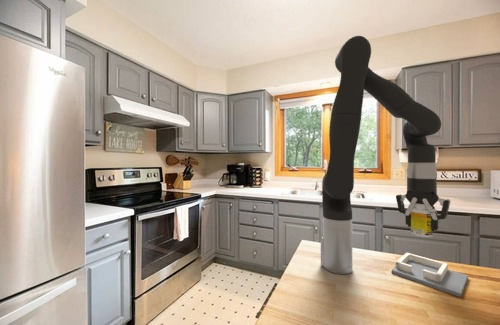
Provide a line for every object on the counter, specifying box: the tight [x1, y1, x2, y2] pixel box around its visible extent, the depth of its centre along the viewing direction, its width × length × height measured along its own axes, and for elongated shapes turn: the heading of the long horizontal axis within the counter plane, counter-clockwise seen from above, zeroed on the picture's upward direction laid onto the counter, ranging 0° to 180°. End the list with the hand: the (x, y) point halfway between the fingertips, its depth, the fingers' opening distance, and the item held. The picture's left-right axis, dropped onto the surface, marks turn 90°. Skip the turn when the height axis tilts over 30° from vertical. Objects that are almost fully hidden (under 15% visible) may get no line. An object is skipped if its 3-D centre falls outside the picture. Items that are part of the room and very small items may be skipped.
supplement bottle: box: [410, 203, 434, 238], centre depth 69 cm, size 6×6×10 cm
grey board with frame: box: [391, 252, 469, 298], centre depth 67 cm, size 16×14×3 cm
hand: (421, 228), depth 69 cm, fingers closed on supplement bottle, 5 cm apart
